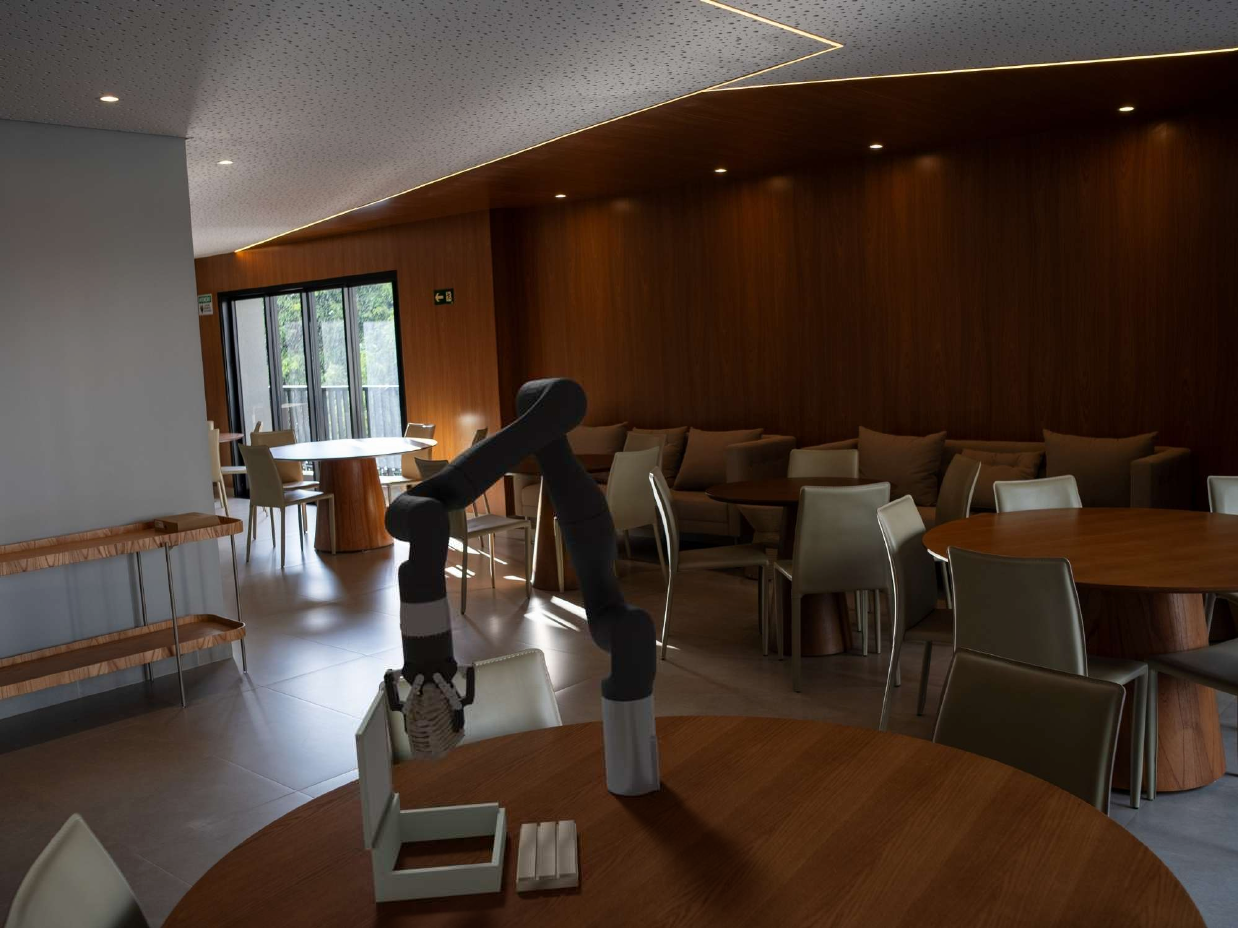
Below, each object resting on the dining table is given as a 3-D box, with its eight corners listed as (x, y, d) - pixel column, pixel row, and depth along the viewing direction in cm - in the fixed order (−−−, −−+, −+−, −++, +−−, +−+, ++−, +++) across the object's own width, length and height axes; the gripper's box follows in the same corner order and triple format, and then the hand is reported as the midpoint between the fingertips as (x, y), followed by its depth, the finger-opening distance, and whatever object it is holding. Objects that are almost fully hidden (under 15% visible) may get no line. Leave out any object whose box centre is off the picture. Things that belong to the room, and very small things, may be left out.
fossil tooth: (473, 740, 160) (435, 770, 146) (436, 736, 162) (395, 766, 147) (474, 669, 160) (437, 692, 145) (438, 666, 161) (397, 689, 147)
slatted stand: (576, 831, 164) (575, 819, 164) (578, 886, 147) (577, 872, 147) (521, 836, 163) (520, 824, 163) (517, 891, 146) (516, 877, 146)
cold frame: (506, 830, 166) (495, 681, 163) (500, 891, 147) (487, 723, 144) (391, 840, 165) (378, 690, 162) (370, 902, 146) (355, 734, 143)
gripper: (475, 616, 156) (484, 720, 158) (382, 624, 155) (392, 728, 157) (471, 629, 148) (480, 738, 150) (373, 637, 148) (383, 746, 149)
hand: (435, 732), depth 154 cm, fingers closed on fossil tooth, 6 cm apart
